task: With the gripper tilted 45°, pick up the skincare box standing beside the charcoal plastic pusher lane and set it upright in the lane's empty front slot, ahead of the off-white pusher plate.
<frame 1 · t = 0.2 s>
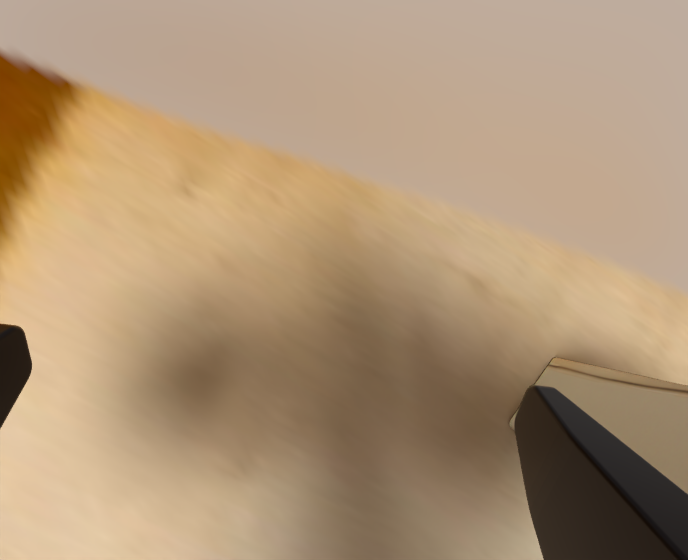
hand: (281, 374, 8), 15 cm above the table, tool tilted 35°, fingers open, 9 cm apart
skincare box: (573, 424, 24), on the table
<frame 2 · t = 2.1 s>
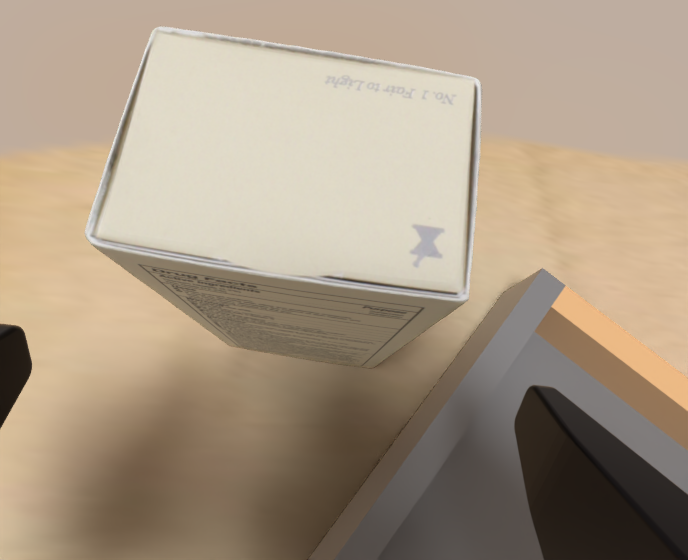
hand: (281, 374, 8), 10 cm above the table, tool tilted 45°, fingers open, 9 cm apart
skincare box: (305, 310, 20), on the table
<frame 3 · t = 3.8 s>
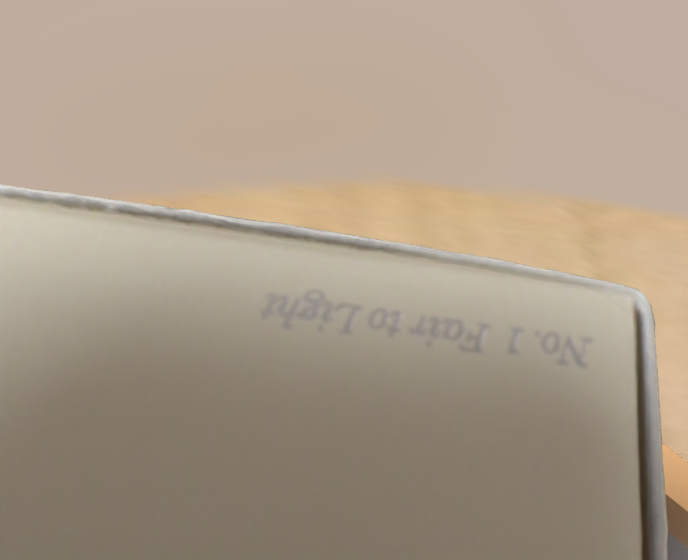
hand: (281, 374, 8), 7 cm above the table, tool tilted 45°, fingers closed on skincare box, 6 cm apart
skincare box: (285, 436, 15), on the table, touching gripper
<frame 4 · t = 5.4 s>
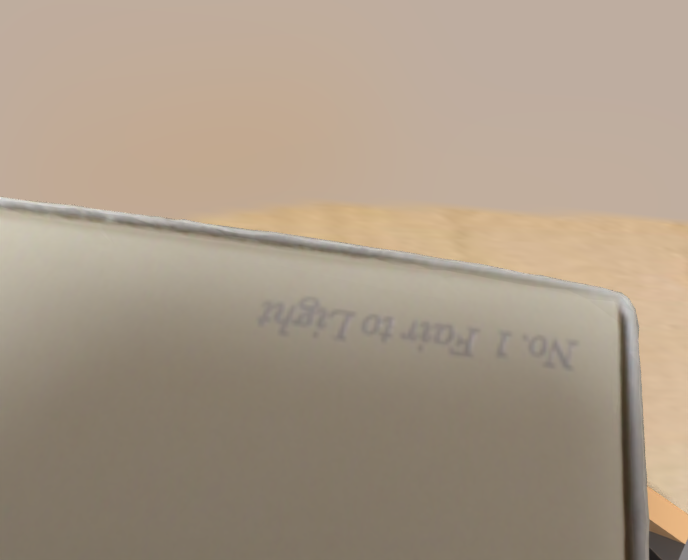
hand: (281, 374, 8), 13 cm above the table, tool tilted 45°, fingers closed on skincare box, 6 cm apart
skincare box: (284, 431, 15), point 6 cm above the table, touching gripper
when the fingers open (9 cm above the table, at t = 7.4 s): skincare box stays where it is, resting on lane.
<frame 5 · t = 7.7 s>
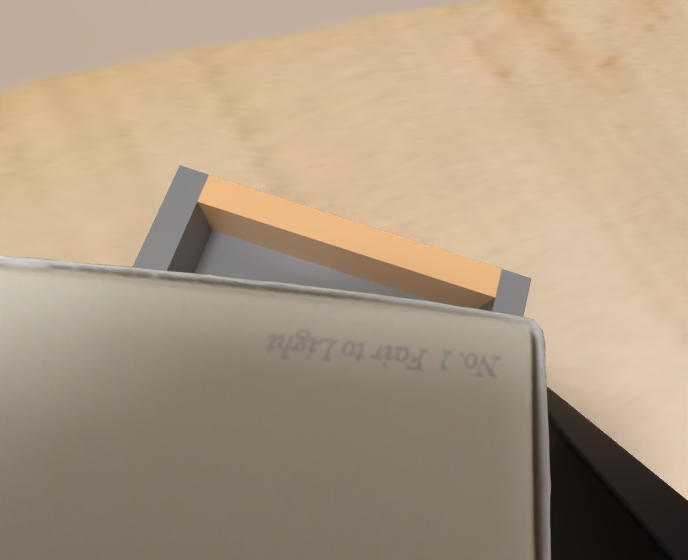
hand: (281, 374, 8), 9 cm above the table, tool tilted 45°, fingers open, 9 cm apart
skincare box: (285, 435, 16), point 1 cm above the table, touching lane
lane: (268, 491, 16), on the table
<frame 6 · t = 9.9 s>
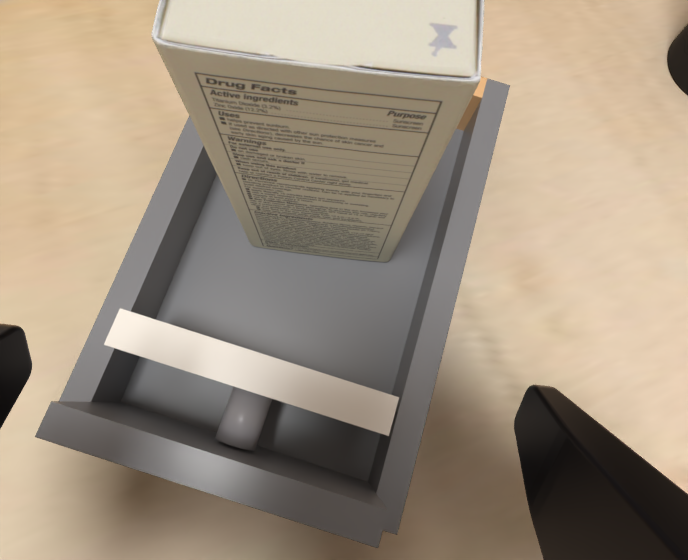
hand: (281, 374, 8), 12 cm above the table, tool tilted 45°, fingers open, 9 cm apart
skincare box: (322, 214, 21), point 1 cm above the table, touching lane
pusher: (250, 400, 16), point 3 cm above the table, slide at 0.0 cm
lane: (309, 259, 21), on the table
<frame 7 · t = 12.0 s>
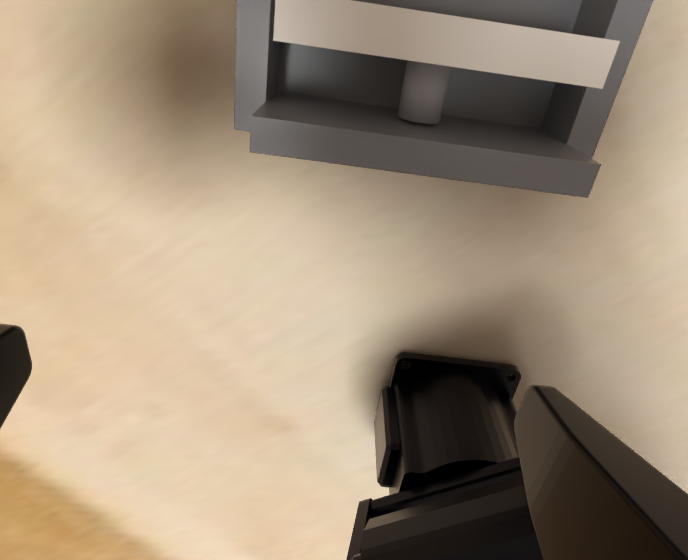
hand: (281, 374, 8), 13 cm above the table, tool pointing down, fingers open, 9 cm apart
pusher: (428, 69, 15), point 3 cm above the table, slide at 0.0 cm
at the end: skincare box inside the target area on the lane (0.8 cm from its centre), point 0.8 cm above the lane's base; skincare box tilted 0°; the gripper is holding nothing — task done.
